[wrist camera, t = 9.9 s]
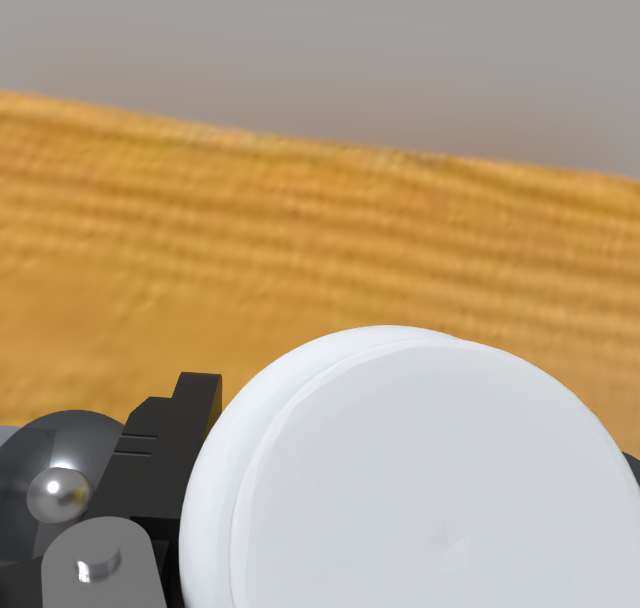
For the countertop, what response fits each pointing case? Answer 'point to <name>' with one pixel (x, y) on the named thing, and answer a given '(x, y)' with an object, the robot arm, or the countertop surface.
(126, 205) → the countertop surface
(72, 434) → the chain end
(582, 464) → the supplement bottle
